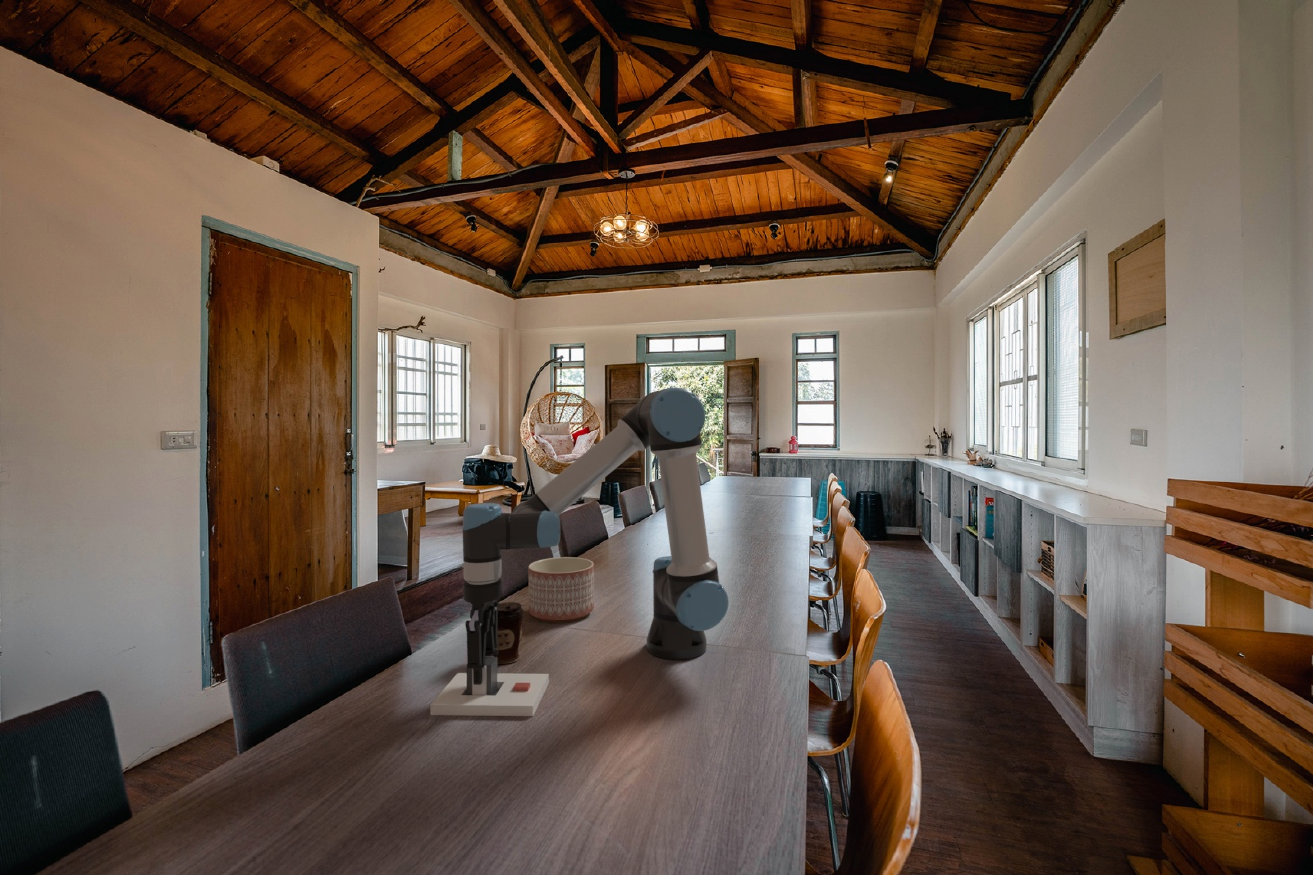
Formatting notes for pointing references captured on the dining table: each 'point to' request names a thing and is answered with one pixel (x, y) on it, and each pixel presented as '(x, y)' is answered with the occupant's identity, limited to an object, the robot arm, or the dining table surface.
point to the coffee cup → (509, 632)
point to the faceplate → (509, 700)
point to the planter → (561, 589)
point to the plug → (491, 676)
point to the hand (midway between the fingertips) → (483, 692)
